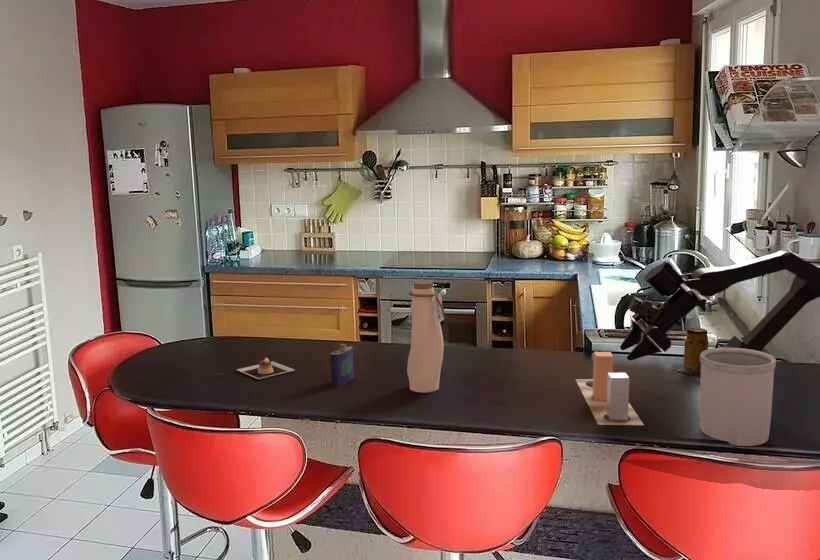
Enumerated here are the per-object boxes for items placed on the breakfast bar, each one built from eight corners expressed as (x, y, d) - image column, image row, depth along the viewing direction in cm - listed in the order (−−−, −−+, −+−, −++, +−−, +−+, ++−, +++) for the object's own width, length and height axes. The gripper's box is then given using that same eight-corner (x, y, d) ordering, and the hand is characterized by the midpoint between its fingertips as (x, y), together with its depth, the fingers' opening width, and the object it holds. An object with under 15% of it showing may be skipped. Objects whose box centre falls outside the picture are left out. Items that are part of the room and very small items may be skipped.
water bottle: (449, 384, 198) (449, 280, 193) (442, 394, 189) (441, 286, 184) (412, 381, 200) (411, 278, 195) (403, 391, 192) (401, 284, 187)
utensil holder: (683, 435, 161) (687, 356, 158) (713, 417, 171) (717, 343, 168) (753, 454, 150) (759, 370, 147) (781, 433, 161) (787, 355, 158)
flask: (348, 377, 205) (346, 339, 203) (357, 378, 204) (356, 340, 202) (329, 386, 197) (327, 347, 195) (338, 388, 196) (337, 348, 194)
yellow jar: (690, 366, 210) (692, 325, 208) (719, 373, 204) (721, 330, 202) (676, 371, 206) (678, 329, 204) (705, 378, 199) (707, 335, 197)
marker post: (609, 394, 185) (610, 351, 183) (611, 400, 181) (613, 356, 179) (592, 394, 185) (593, 351, 183) (594, 399, 181) (596, 356, 179)
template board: (644, 428, 165) (644, 424, 165) (598, 428, 165) (598, 424, 165) (613, 382, 197) (613, 379, 197) (575, 382, 198) (575, 379, 198)
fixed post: (627, 420, 167) (629, 378, 165) (609, 420, 167) (611, 377, 166) (623, 414, 171) (625, 372, 169) (606, 414, 171) (607, 372, 170)
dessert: (236, 373, 212) (235, 357, 211) (272, 364, 220) (272, 349, 219) (258, 382, 203) (257, 365, 202) (295, 373, 211) (294, 357, 210)
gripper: (642, 279, 186) (595, 321, 189) (659, 293, 168) (607, 340, 171) (673, 310, 187) (626, 352, 190) (693, 328, 169) (641, 374, 172)
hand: (624, 353), depth 181 cm, fingers open, 9 cm apart
